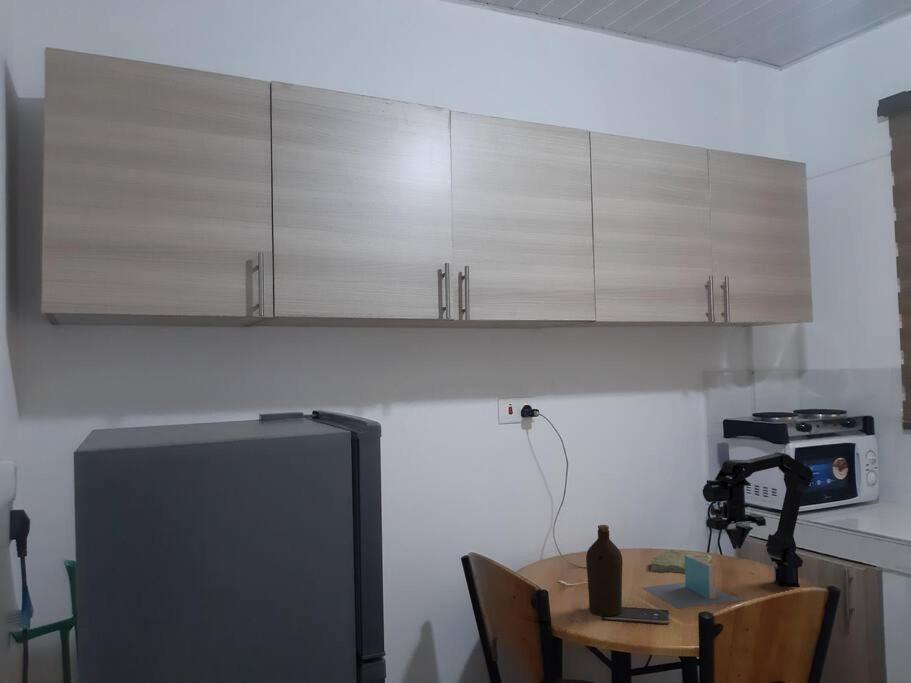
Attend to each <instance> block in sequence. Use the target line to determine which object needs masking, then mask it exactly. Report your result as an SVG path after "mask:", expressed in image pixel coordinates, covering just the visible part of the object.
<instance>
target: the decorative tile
mask: <svg viewBox="0 0 911 683" xmlns="http://www.w3.org/2000/svg"><path fill="white" fill-rule="evenodd" d="M686 555H692V556H695V557H697V558H699V559H702V560H704V561H706V562H708V563H711V564H713V557H712V556H711V555H710V554H703V553H700V552H692V551H687V550H686V551H685V550H681V551H680V550H675V549H670V550H667V549H666V550H664V552H663V553H661V554H659V555H655V556H653V557H652V560H651V567H650V568H651V569H650V571H652V572H657V571H659V572H658V573H665V572H666V574H667V573H674V572H675V573H679V574H685V556H686Z"/></svg>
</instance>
